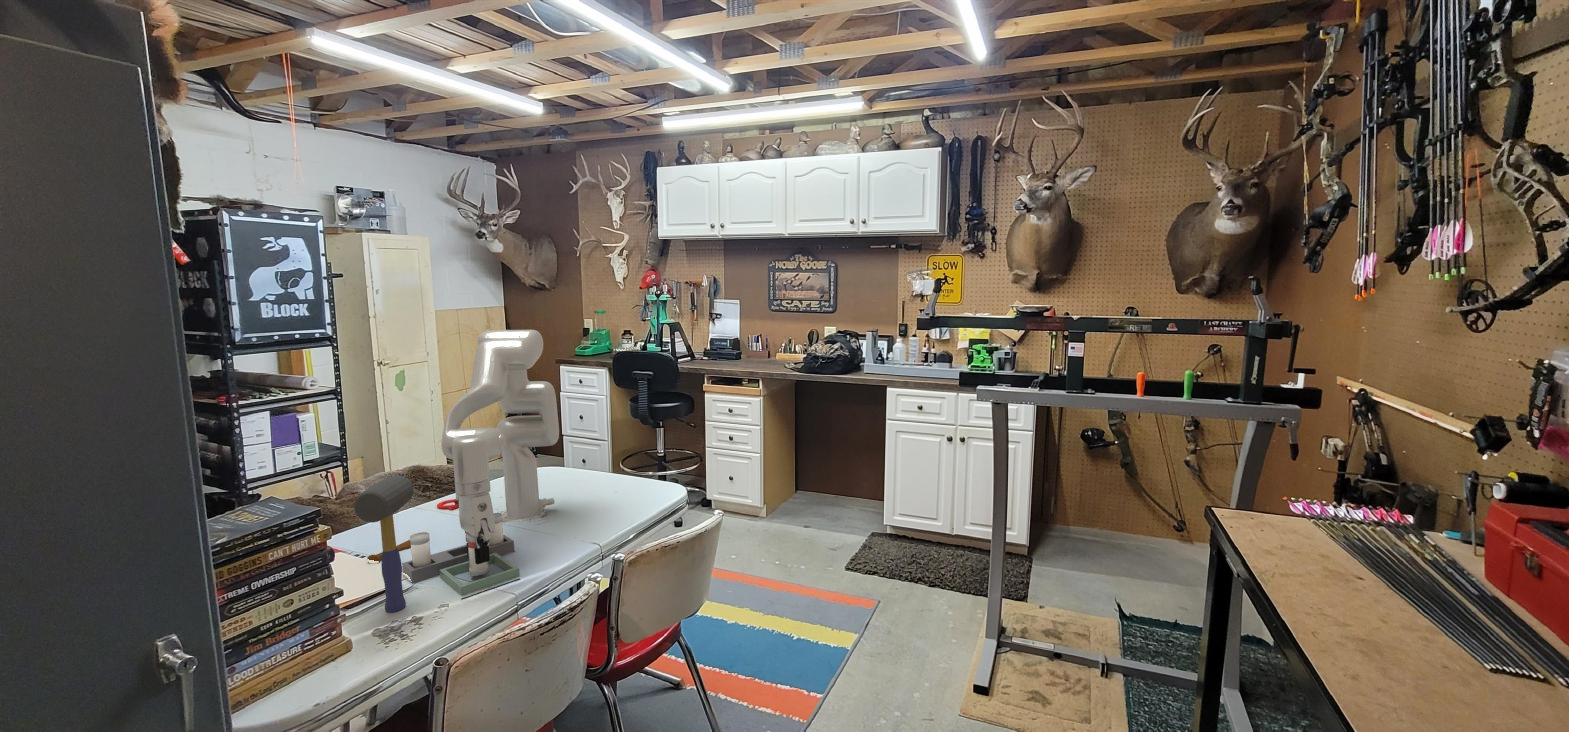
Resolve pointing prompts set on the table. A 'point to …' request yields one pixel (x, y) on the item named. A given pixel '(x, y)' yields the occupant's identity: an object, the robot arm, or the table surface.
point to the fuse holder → (451, 560)
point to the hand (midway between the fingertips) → (478, 558)
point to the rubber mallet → (387, 530)
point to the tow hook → (450, 507)
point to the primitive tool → (400, 547)
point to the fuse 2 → (497, 530)
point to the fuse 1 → (420, 549)
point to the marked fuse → (474, 568)
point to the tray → (482, 583)
